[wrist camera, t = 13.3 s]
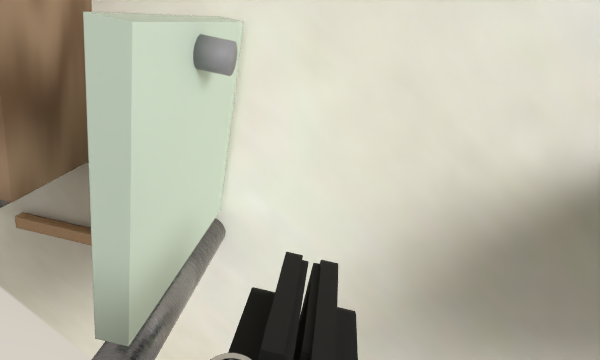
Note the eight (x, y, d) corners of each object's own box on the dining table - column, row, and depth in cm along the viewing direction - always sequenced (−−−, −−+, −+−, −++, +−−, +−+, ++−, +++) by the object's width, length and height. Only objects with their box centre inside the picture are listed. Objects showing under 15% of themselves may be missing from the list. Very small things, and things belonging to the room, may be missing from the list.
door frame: (-15, 164, 23) (-387, 312, 12) (227, 220, 23) (98, 433, 11) (-7, 215, 25) (-330, 393, 13) (220, 269, 25) (100, 503, 13)
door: (240, 214, 22) (162, 354, 13) (201, 205, 22) (95, 338, 13) (267, 27, 18) (182, 32, 9) (219, 16, 18) (83, 11, 9)
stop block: (-4, -51, 19) (-149, -81, 13) (93, -27, 19) (-13, -47, 13) (13, 138, 23) (-94, 175, 17) (93, 158, 23) (11, 202, 17)
